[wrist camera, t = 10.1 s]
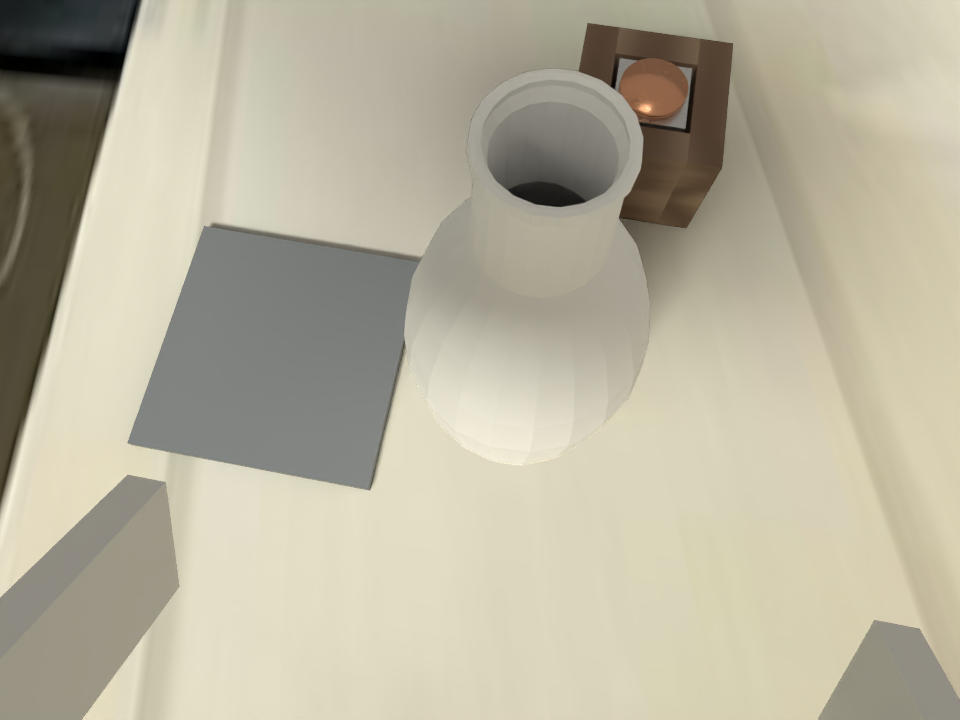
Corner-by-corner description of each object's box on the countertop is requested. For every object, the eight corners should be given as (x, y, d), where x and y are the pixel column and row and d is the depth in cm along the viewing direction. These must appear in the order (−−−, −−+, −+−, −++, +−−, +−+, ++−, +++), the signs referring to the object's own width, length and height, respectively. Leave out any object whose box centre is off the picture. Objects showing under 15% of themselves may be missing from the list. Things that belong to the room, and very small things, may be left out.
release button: (597, 166, 43) (612, 110, 38) (605, 112, 45) (622, 50, 39) (663, 177, 43) (688, 122, 38) (670, 121, 44) (695, 61, 39)
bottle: (636, 371, 41) (854, 90, 17) (540, 520, 38) (633, 442, 14) (491, 279, 43) (497, -90, 19) (389, 415, 40) (244, 188, 16)
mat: (132, 445, 40) (127, 443, 39) (207, 230, 44) (204, 226, 44) (370, 490, 39) (368, 489, 38) (422, 266, 43) (421, 262, 43)
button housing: (554, 207, 45) (566, 144, 38) (573, 99, 47) (587, 23, 41) (686, 228, 44) (721, 167, 37) (697, 118, 47) (733, 43, 40)
